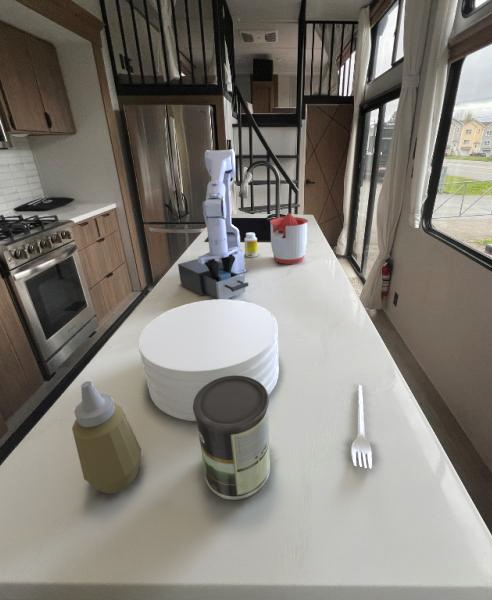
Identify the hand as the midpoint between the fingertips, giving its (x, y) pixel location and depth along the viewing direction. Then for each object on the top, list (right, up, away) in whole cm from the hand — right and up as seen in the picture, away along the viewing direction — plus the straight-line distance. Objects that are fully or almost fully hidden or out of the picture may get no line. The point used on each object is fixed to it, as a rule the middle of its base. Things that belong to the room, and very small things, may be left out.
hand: (221, 279), depth 107 cm
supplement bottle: (+7, +13, +40) cm, 43 cm away
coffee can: (+11, -33, -56) cm, 67 cm away
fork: (+33, -29, -49) cm, 66 cm away
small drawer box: (-7, -2, +10) cm, 12 cm away
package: (0, -1, +1) cm, 1 cm away
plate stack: (+4, -23, -35) cm, 42 cm away
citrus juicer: (+23, +10, +32) cm, 41 cm away
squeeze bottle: (-7, -34, -57) cm, 67 cm away
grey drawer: (+1, -5, +1) cm, 5 cm away
